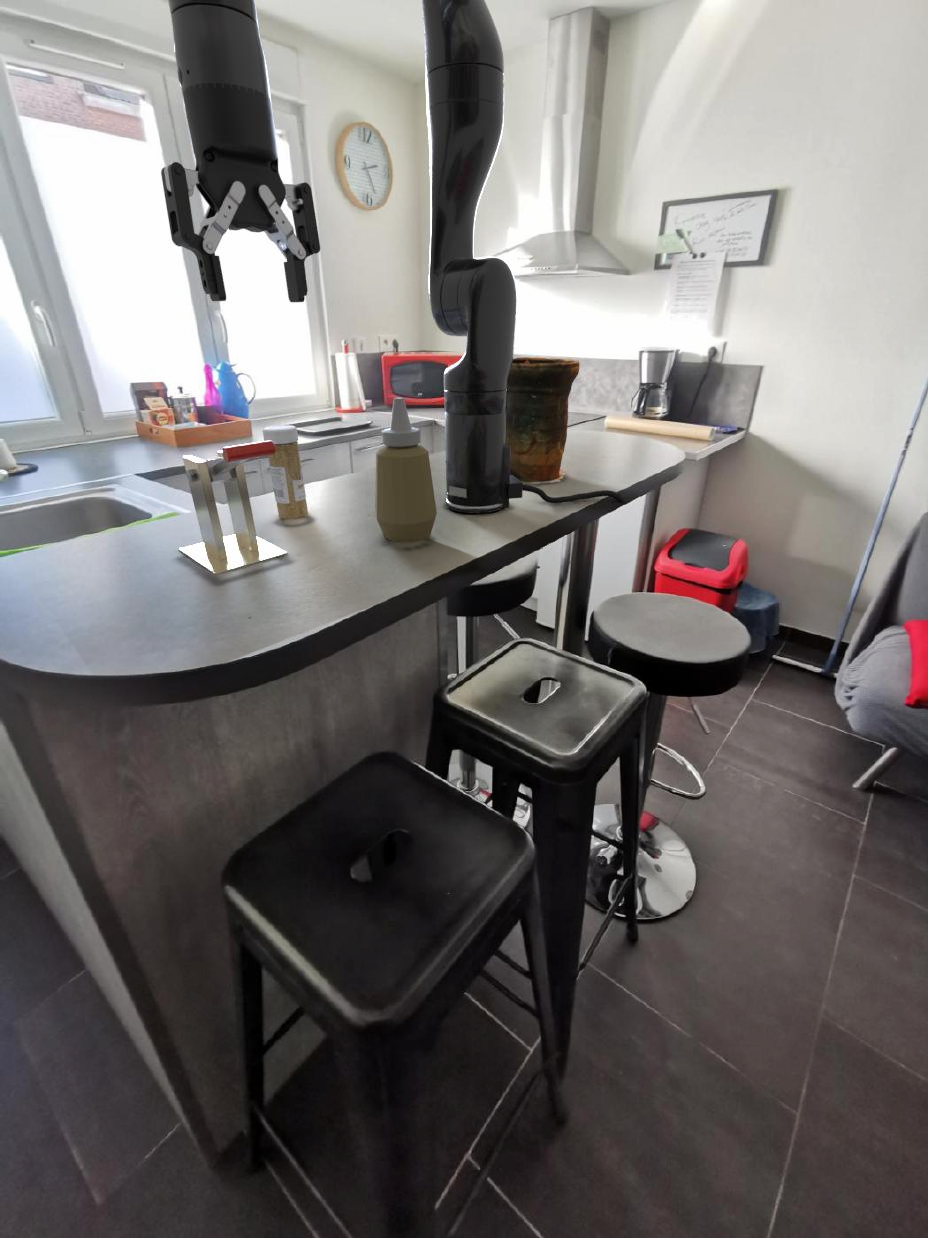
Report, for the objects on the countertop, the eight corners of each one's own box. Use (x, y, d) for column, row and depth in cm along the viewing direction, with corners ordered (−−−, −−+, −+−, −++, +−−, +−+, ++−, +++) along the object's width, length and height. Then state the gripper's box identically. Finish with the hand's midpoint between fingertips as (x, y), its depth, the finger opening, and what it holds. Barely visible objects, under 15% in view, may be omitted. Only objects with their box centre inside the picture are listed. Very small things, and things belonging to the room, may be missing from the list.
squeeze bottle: (390, 555, 71) (378, 404, 63) (369, 536, 77) (355, 396, 69) (447, 544, 74) (443, 399, 66) (423, 527, 81) (416, 392, 72)
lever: (278, 457, 58) (271, 433, 58) (231, 465, 55) (223, 440, 55) (235, 480, 68) (228, 460, 68) (193, 488, 65) (186, 467, 65)
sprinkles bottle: (314, 522, 83) (301, 427, 77) (283, 528, 81) (267, 430, 75) (303, 514, 87) (290, 422, 80) (274, 519, 84) (257, 426, 78)
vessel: (584, 482, 101) (595, 360, 92) (509, 489, 98) (512, 363, 89) (552, 465, 113) (559, 355, 104) (484, 470, 110) (485, 358, 101)
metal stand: (289, 562, 70) (271, 456, 64) (217, 583, 64) (190, 470, 58) (248, 540, 77) (229, 443, 71) (181, 558, 71) (153, 455, 65)
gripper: (158, 59, 44) (205, 299, 51) (319, 100, 52) (339, 301, 60) (127, 85, 48) (175, 302, 56) (279, 119, 57) (303, 303, 65)
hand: (260, 301), depth 58 cm, fingers open, 8 cm apart
